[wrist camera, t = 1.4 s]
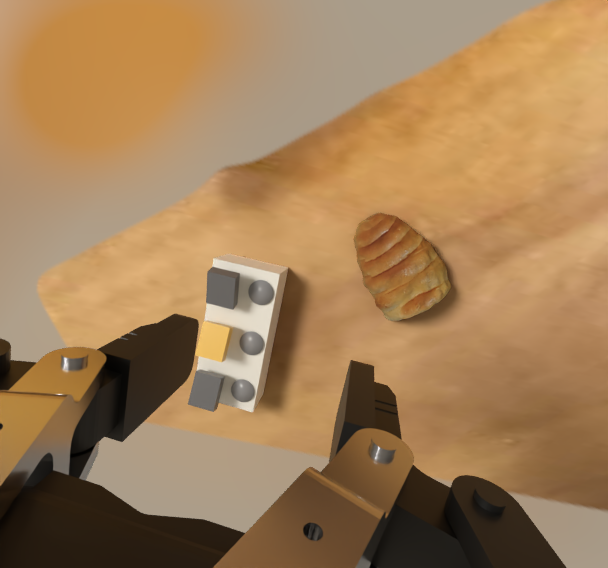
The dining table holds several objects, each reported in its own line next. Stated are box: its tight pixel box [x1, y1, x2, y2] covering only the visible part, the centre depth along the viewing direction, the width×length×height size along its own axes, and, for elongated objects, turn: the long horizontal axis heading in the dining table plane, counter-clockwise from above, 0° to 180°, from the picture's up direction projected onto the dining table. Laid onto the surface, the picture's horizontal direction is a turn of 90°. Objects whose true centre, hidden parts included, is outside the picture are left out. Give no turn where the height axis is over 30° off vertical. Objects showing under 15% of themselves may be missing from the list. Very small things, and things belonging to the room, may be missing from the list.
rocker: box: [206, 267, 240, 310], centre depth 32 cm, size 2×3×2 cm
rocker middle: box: [195, 320, 233, 362], centre depth 33 cm, size 2×3×2 cm
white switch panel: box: [197, 253, 288, 412], centre depth 36 cm, size 6×14×4 cm, turn 168°
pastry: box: [354, 213, 451, 321], centre depth 32 cm, size 9×7×4 cm
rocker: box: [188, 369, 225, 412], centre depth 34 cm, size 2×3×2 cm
